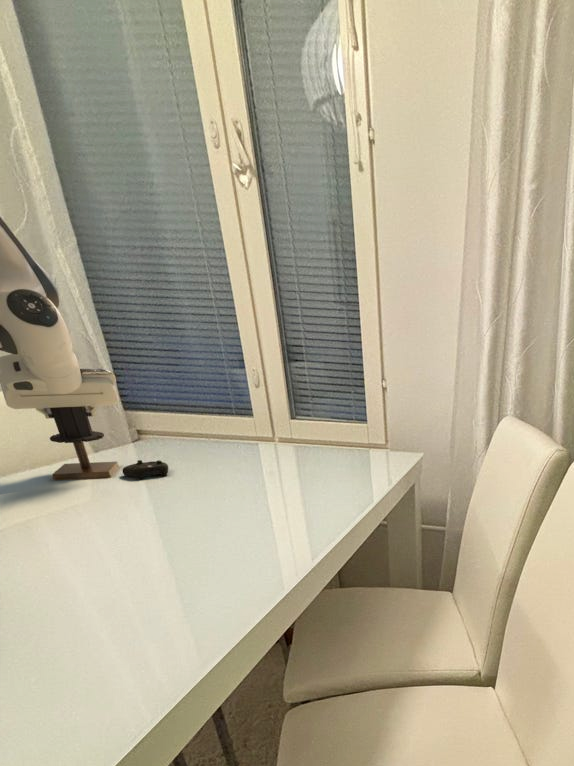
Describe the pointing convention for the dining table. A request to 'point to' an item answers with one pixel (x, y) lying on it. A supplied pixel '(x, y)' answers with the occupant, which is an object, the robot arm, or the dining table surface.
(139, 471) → the gaming controller
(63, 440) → the hat
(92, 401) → the robot arm
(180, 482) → the dining table surface
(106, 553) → the dining table surface
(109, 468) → the hat stand
